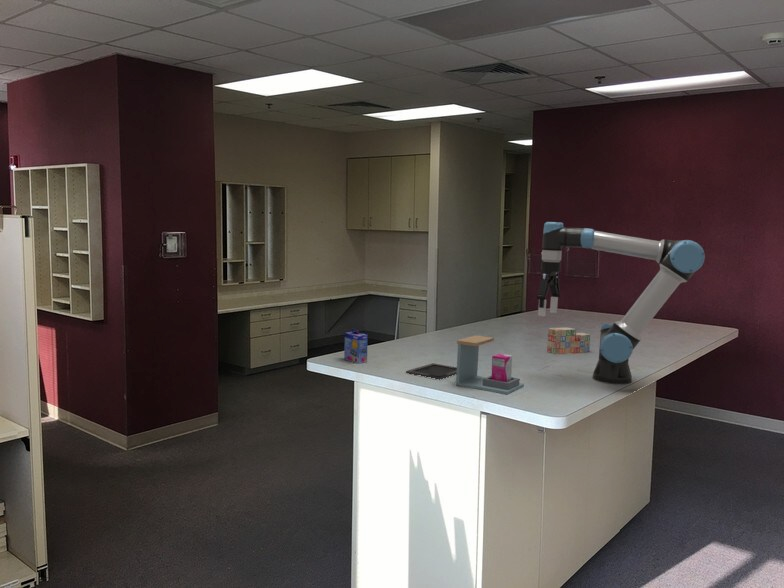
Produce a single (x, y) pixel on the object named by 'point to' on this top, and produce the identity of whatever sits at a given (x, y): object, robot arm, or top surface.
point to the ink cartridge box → (355, 346)
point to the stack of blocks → (567, 341)
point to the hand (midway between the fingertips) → (547, 314)
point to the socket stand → (469, 367)
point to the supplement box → (501, 367)
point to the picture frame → (434, 371)
